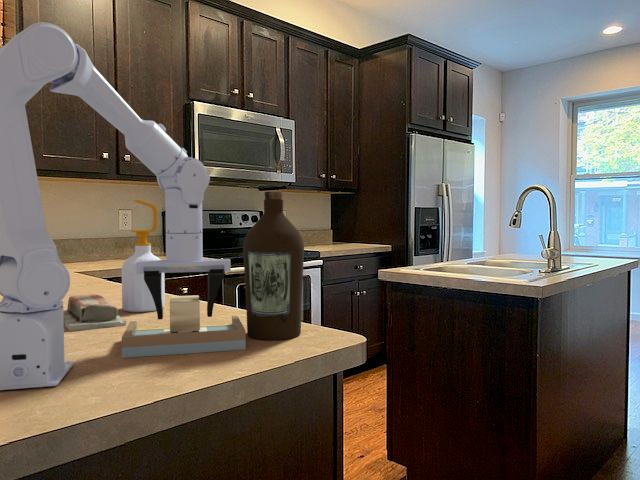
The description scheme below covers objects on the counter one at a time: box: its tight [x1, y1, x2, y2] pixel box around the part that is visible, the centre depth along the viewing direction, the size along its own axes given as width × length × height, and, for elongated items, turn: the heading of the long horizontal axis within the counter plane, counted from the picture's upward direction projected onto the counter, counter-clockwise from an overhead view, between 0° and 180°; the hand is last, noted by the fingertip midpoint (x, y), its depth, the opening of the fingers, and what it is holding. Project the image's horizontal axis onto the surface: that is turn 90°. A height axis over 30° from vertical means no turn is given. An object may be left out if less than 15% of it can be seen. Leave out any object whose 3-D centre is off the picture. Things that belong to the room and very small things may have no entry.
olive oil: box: [242, 191, 305, 341], centre depth 87 cm, size 11×11×25 cm
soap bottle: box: [121, 199, 166, 313], centre depth 112 cm, size 9×9×25 cm
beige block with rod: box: [169, 294, 201, 333], centre depth 81 cm, size 8×4×6 cm, turn 15°
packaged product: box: [63, 293, 127, 332], centre depth 100 cm, size 18×5×10 cm
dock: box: [121, 315, 247, 359], centre depth 81 cm, size 12×18×3 cm, turn 105°
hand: (185, 317), depth 81 cm, fingers open, 7 cm apart
